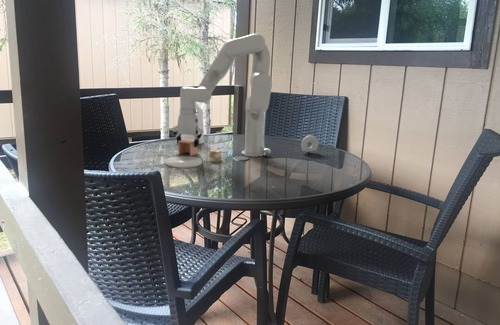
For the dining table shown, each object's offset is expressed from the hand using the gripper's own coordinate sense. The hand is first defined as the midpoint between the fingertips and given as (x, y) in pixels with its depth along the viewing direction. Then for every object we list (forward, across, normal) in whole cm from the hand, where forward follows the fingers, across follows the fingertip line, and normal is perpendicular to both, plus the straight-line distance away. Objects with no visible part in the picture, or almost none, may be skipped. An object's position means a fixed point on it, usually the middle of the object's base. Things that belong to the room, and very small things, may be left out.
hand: (187, 145), depth 212 cm
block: (+4, -18, +6) cm, 19 cm away
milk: (+5, +13, -29) cm, 32 cm away
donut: (+4, -56, -33) cm, 65 cm away
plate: (+4, -7, +18) cm, 19 cm away
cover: (+4, 0, 0) cm, 4 cm away
